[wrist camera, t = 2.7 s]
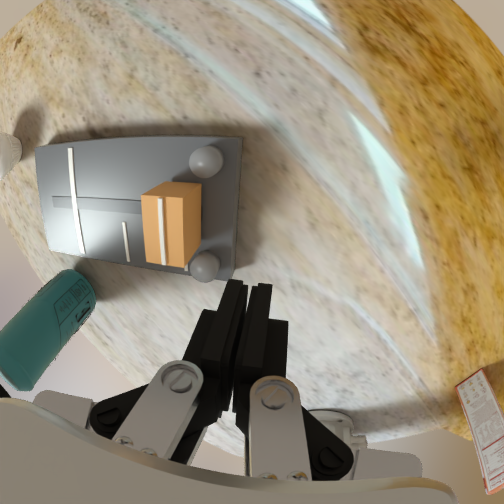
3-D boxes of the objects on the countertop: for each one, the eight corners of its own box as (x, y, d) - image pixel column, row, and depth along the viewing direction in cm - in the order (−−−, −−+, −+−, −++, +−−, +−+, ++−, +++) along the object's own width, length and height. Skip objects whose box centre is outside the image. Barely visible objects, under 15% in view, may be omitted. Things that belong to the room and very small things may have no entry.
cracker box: (491, 393, 32) (519, 478, 13) (466, 410, 34) (489, 496, 16) (483, 365, 28) (524, 472, 10) (453, 386, 31) (484, 497, 12)
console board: (242, 137, 21) (233, 140, 18) (234, 270, 26) (226, 291, 23) (46, 144, 23) (24, 150, 19) (59, 242, 28) (41, 256, 25)
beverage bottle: (61, 256, 29) (-47, 358, 11) (100, 266, 28) (-14, 393, 11) (72, 298, 32) (-15, 401, 14) (109, 311, 31) (22, 433, 14)
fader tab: (201, 183, 20) (181, 198, 17) (200, 243, 23) (183, 269, 19) (165, 181, 21) (139, 195, 17) (167, 239, 23) (145, 263, 19)
